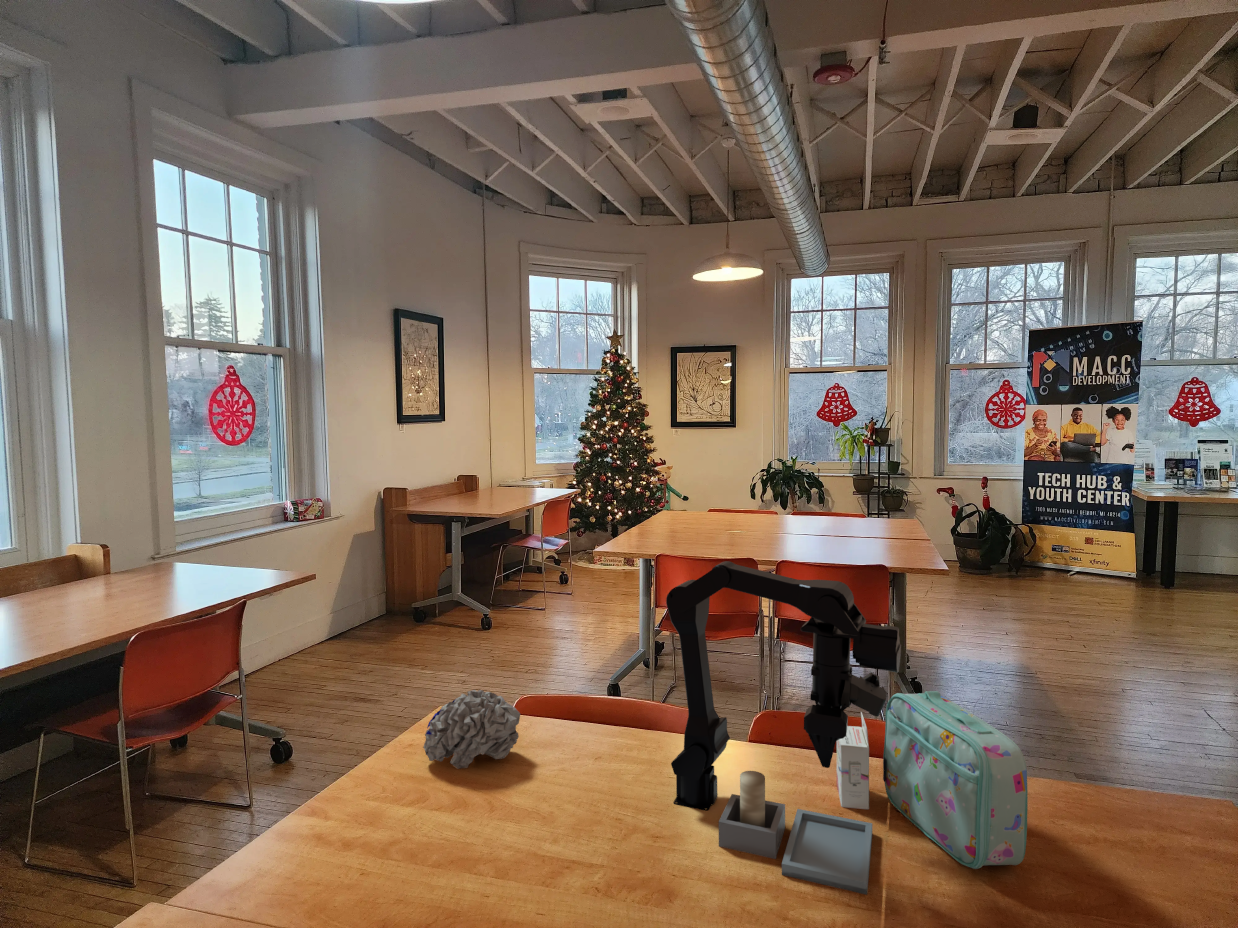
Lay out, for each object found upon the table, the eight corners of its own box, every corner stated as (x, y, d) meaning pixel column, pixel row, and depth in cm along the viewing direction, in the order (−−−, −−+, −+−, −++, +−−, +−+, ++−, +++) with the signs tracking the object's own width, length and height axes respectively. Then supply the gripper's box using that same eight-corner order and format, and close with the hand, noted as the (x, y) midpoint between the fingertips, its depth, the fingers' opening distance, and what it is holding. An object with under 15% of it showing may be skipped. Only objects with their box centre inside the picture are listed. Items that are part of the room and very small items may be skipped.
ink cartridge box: (834, 785, 130) (835, 708, 129) (862, 787, 129) (863, 709, 128) (840, 809, 122) (840, 727, 121) (869, 812, 121) (870, 729, 120)
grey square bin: (718, 848, 111) (718, 821, 111) (731, 819, 119) (731, 793, 119) (775, 861, 107) (775, 833, 107) (785, 830, 116) (785, 804, 115)
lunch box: (871, 793, 127) (872, 678, 126) (921, 786, 129) (922, 673, 128) (974, 887, 101) (976, 743, 100) (1035, 877, 103) (1037, 736, 102)
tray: (781, 877, 104) (781, 863, 104) (797, 821, 118) (797, 808, 118) (867, 897, 99) (867, 882, 99) (872, 836, 114) (872, 823, 114)
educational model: (452, 771, 149) (419, 709, 149) (535, 727, 150) (502, 666, 149) (438, 804, 135) (402, 736, 135) (529, 755, 136) (493, 687, 135)
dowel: (737, 840, 112) (737, 780, 112) (743, 827, 116) (743, 768, 115) (762, 845, 111) (762, 784, 110) (767, 832, 114) (767, 773, 114)
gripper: (883, 688, 101) (879, 792, 102) (885, 649, 118) (882, 738, 119) (804, 677, 105) (801, 777, 106) (817, 641, 122) (815, 727, 123)
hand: (828, 754), depth 114 cm, fingers open, 9 cm apart
